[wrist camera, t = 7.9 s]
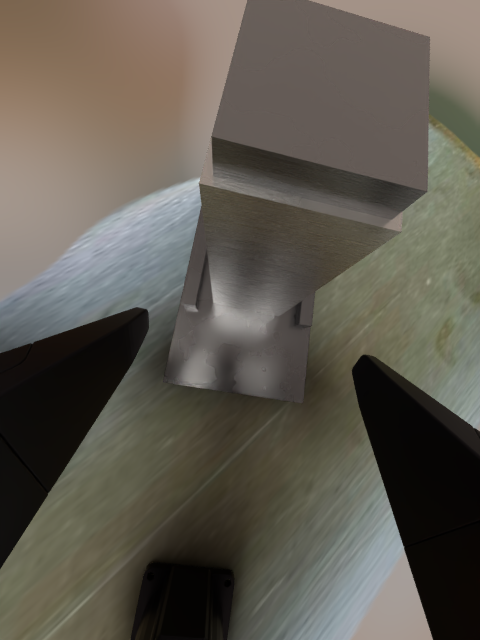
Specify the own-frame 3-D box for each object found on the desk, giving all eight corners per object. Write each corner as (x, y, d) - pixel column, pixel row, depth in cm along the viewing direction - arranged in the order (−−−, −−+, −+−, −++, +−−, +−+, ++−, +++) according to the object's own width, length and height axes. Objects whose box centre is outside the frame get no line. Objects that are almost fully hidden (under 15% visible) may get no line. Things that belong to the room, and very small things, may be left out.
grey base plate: (294, 398, 18) (317, 411, 14) (169, 379, 18) (152, 386, 13) (310, 236, 21) (334, 205, 17) (204, 214, 21) (200, 176, 16)
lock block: (279, 316, 17) (439, 205, 5) (213, 302, 17) (194, 143, 4) (288, 255, 18) (439, 32, 6) (226, 242, 18) (242, -28, 5)
